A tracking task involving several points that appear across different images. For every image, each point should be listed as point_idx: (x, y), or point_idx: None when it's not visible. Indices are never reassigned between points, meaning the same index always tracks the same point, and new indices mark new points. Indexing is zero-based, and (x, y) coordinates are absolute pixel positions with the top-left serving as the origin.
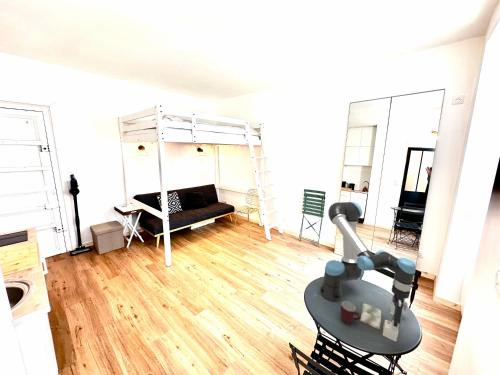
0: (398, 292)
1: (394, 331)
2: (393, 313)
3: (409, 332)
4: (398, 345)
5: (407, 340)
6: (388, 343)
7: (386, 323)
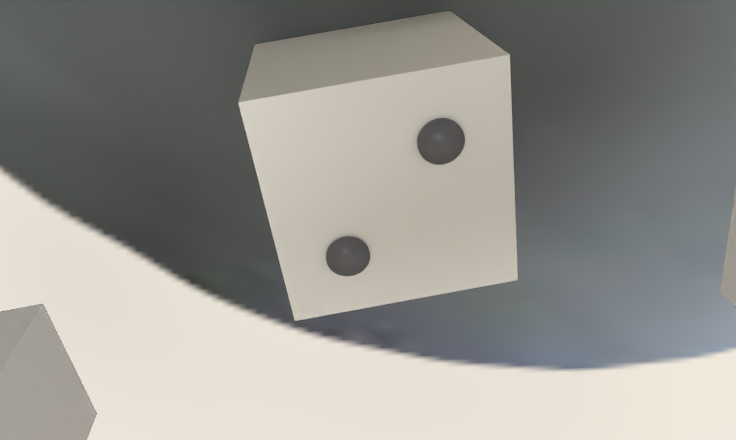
0: None
1: (280, 264)
2: (729, 241)
3: (613, 307)
4: (253, 250)
5: (444, 311)
6: (160, 145)
7: (380, 107)
